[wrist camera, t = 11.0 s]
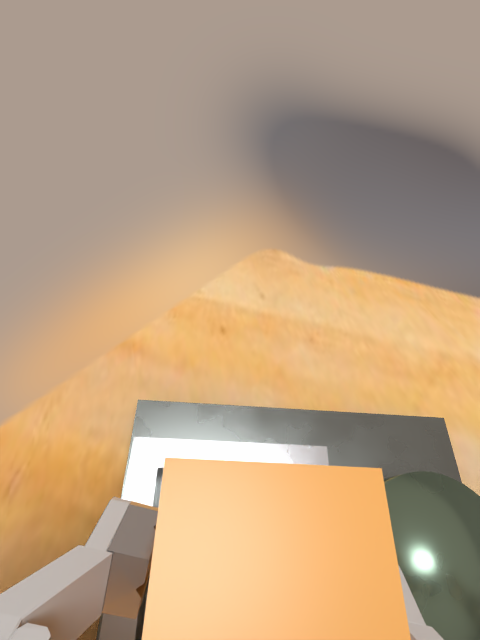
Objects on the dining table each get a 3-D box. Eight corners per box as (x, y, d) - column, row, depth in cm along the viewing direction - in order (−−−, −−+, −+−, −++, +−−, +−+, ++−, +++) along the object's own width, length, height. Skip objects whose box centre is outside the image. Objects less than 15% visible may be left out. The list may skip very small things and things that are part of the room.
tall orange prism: (274, 501, 16) (381, 468, 7) (277, 630, 13) (438, 803, 5) (175, 497, 15) (165, 457, 7) (160, 630, 13) (118, 822, 4)
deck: (424, 426, 23) (479, 402, 18) (503, 745, 16) (622, 827, 11) (142, 410, 21) (130, 379, 17) (83, 762, 14) (37, 867, 10)
